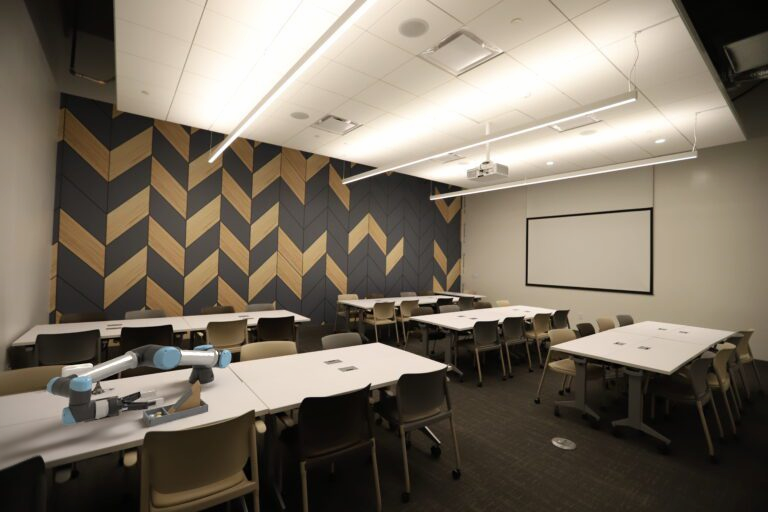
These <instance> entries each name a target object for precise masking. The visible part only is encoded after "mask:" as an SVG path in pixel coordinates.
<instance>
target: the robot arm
mask: <svg viewBox="0 0 768 512" xmlns="http://www.w3.org/2000/svg"><path fill="white" fill-rule="evenodd" d="M231 361H232V353H231V351H230V350H228V349H224V348H222V349H220V348H215V347H214V345H212V344H203V345H198V346H195V347H194V348H193V350H192V349H191V350H188V349H181V348H180V347H179V346H167V345H166V346H164V345H158V344H146V345H143V346H140V347H139V346H138V347H137V348H133V349H130V350H128V351H127V352H125V354H124V355H120V356H117V357H115V358H113V359H110V360H107V361H105V362H102V363H98V364H95V365H94V366H93V367H91V368H88V369H86V370H83V371H80V372H78V373H75V374H72V375H69V376H67V377H62V376H56V377H53V378H52V379H50V380H49V381H48V383H47V385H46V391H47V392H48V393H49V394H52V395H53V396H58V397H63V398H68V405H67V406H65V407H64V408H62V410H61V424H62V425H63V426H69V425H74V424H79V423H84V422H87V421H91V420H96V419H97V420H100V418H104V417H106V416H108V417H110V416H113V415H114V416H115V415H117V414H118V413H119V410H121V412H122V413H126V412H130V411H131V412H132V411H141V410H142V411H146V410H149V407H155V406H160V405H163V404H164V397H160V398H154V399H149V400H147V401H137V400H139V399H140V400H143V399H147V398H151V397H155V396H157V394H156V393H157V390H156V389H155V390H150V391H145V392H141V391H136V392H134V393H131V394H128V395H125V396H121V397H112V398H108V399H102V400H97V401H92V394H91V391H93V390H92V389H93V388H92V387H93V383H97V381H99V382H100V381H101V380H104V379H107V378H108V377H110V376H113V375H115V374H119V373H121V372H123V371H126V370H128V369H135V368H138V367H149V368H150V367H151V368H155V369H161V370H171V369H174V368H177V367H178V366H192V369H191V372H190V375H189V377H188V383H189V384H192V385H194V384H195V383H196V381H197V380H198V381H199V383H200V385H202V384H208V383H211V382H213V381H214V380H215V374H214V371H213V369H214V368H217V369H226V368H227V367H228V366H229V365H230V363H231ZM91 401H92V402H91Z"/></svg>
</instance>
